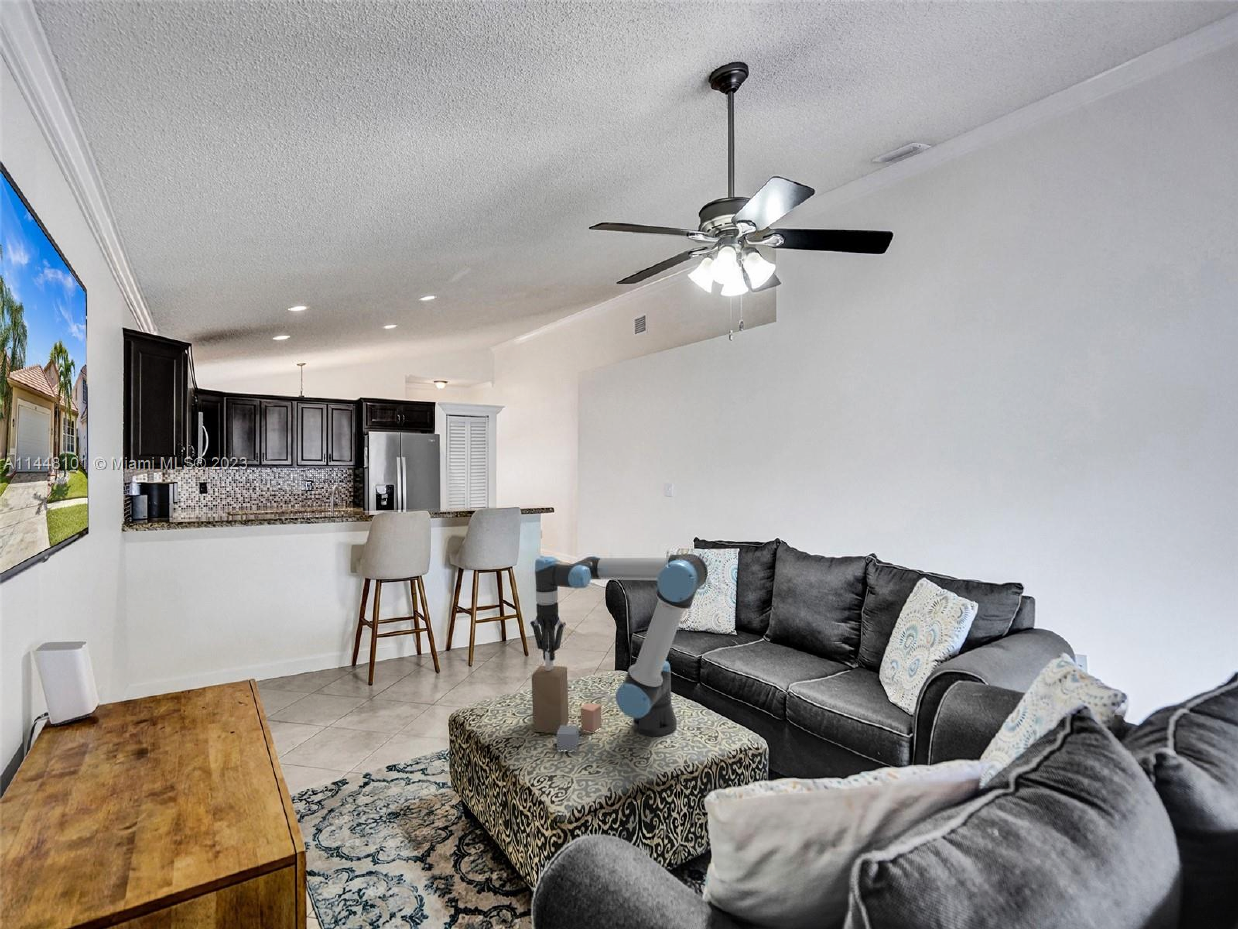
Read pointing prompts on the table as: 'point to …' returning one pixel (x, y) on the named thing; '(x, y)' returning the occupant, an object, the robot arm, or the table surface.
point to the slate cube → (567, 737)
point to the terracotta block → (591, 717)
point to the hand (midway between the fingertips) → (549, 669)
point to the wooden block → (550, 699)
